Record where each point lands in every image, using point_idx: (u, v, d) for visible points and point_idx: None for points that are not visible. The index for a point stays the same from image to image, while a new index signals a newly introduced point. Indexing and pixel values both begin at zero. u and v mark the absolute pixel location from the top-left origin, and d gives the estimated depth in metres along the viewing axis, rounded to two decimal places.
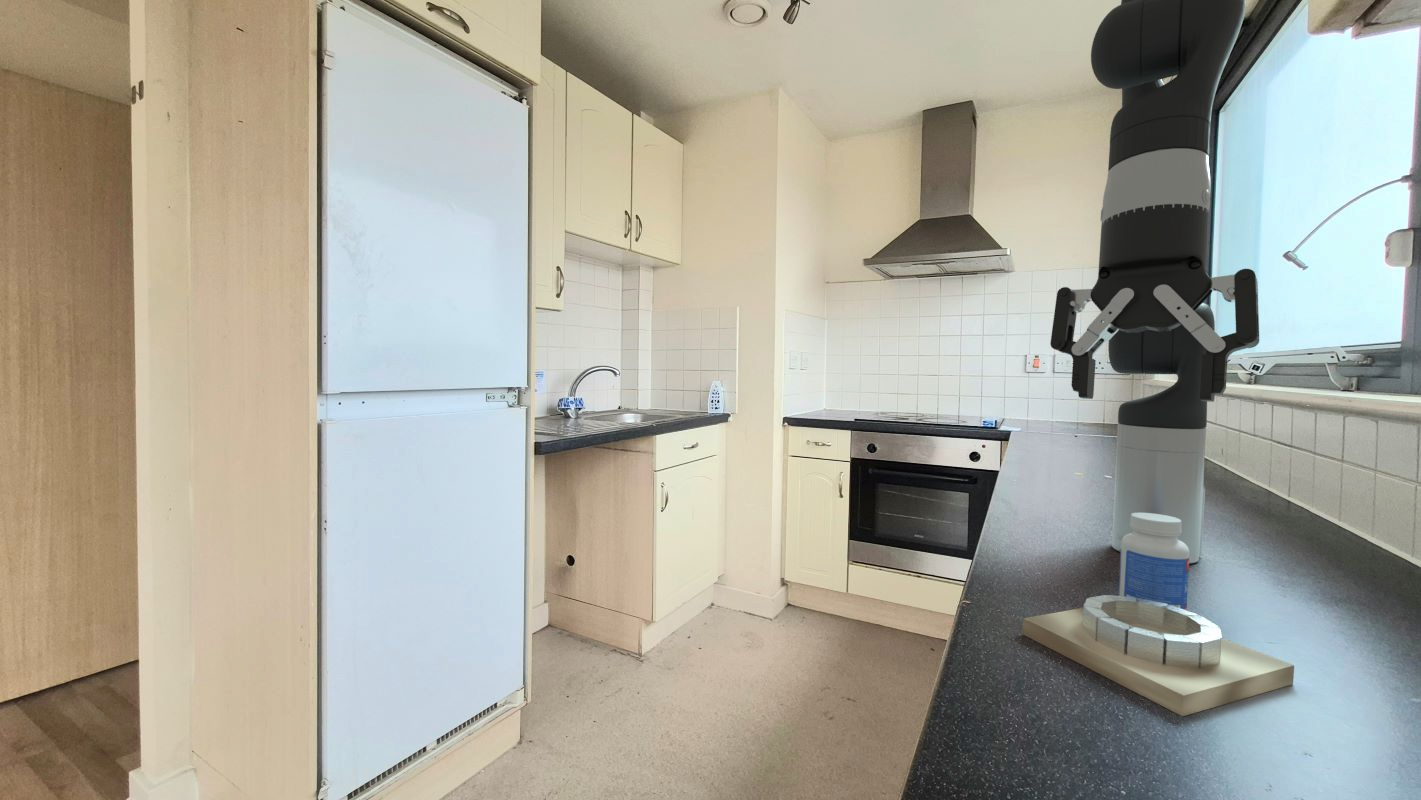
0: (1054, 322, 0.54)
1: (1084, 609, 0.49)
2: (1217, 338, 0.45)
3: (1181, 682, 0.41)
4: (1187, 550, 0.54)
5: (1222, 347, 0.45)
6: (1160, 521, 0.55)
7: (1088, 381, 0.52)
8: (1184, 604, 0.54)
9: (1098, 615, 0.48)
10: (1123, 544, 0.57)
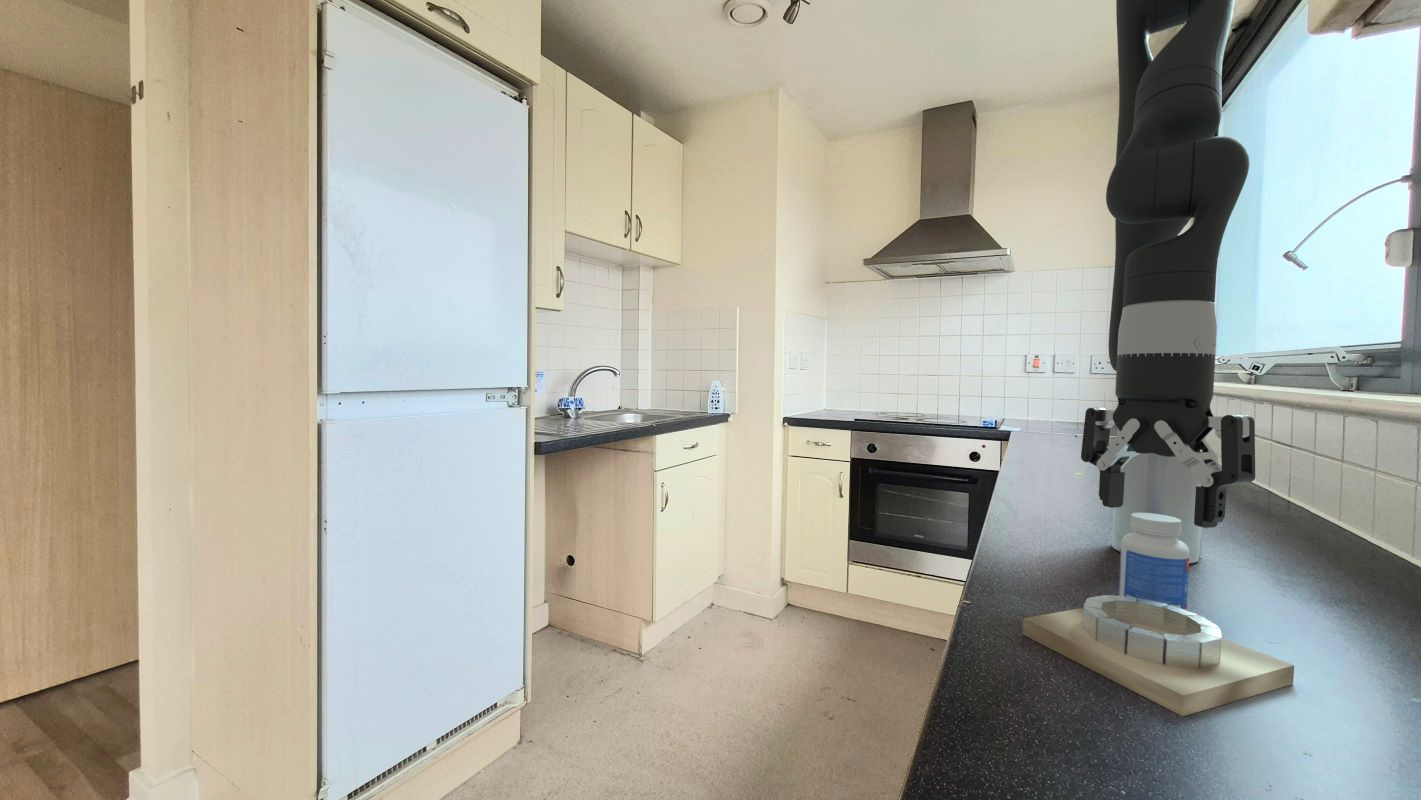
0: (1083, 437, 0.62)
1: (1084, 609, 0.49)
2: (1207, 474, 0.51)
3: (1181, 682, 0.41)
4: (1187, 550, 0.54)
5: (1211, 483, 0.51)
6: (1160, 521, 0.55)
7: (1110, 493, 0.59)
8: (1184, 604, 0.54)
9: (1098, 615, 0.48)
10: (1123, 544, 0.57)
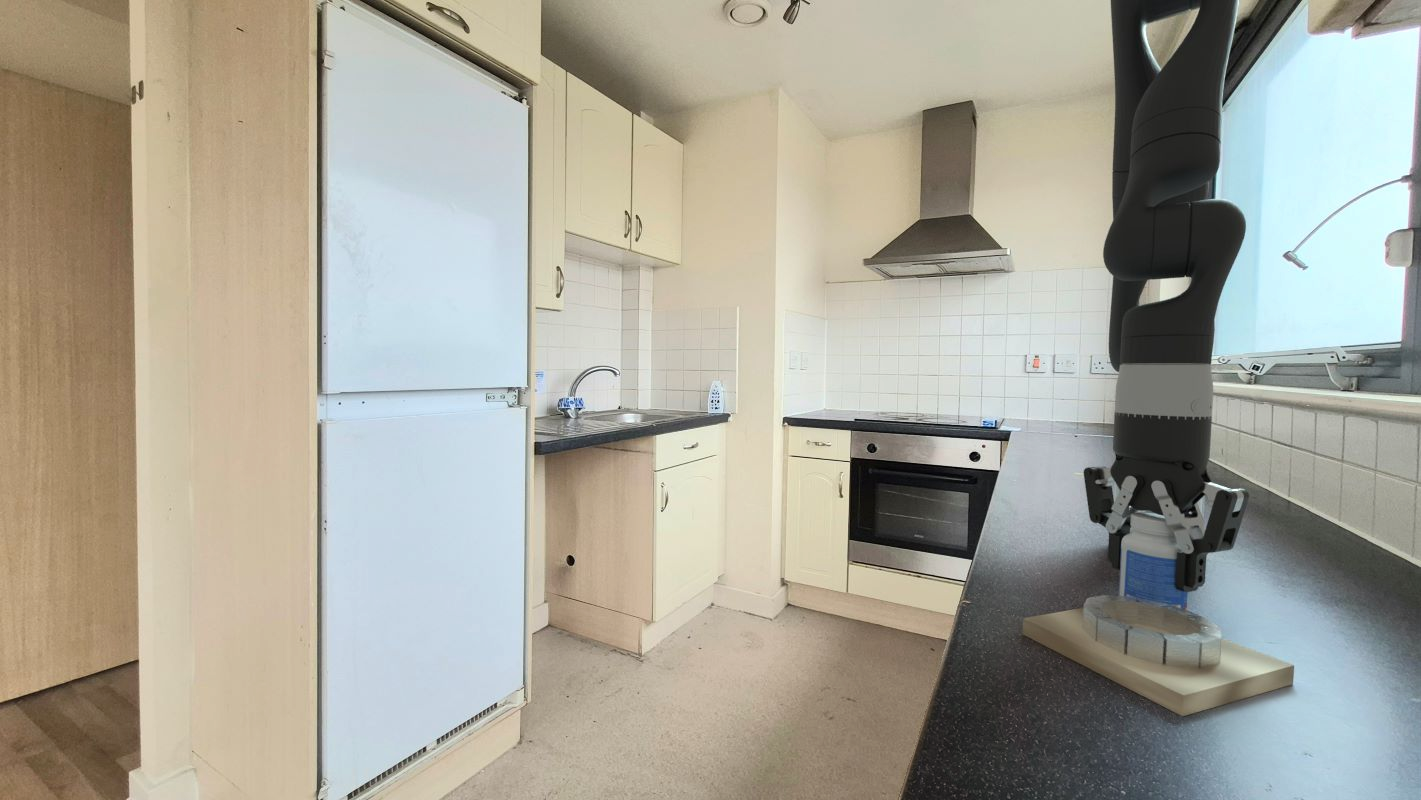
0: (1088, 498, 0.62)
1: (1084, 609, 0.49)
2: (1189, 542, 0.52)
3: (1181, 682, 0.41)
4: None
5: (1191, 550, 0.52)
6: (1160, 521, 0.55)
7: (1120, 557, 0.59)
8: (1184, 604, 0.54)
9: (1098, 615, 0.48)
10: (1123, 544, 0.57)
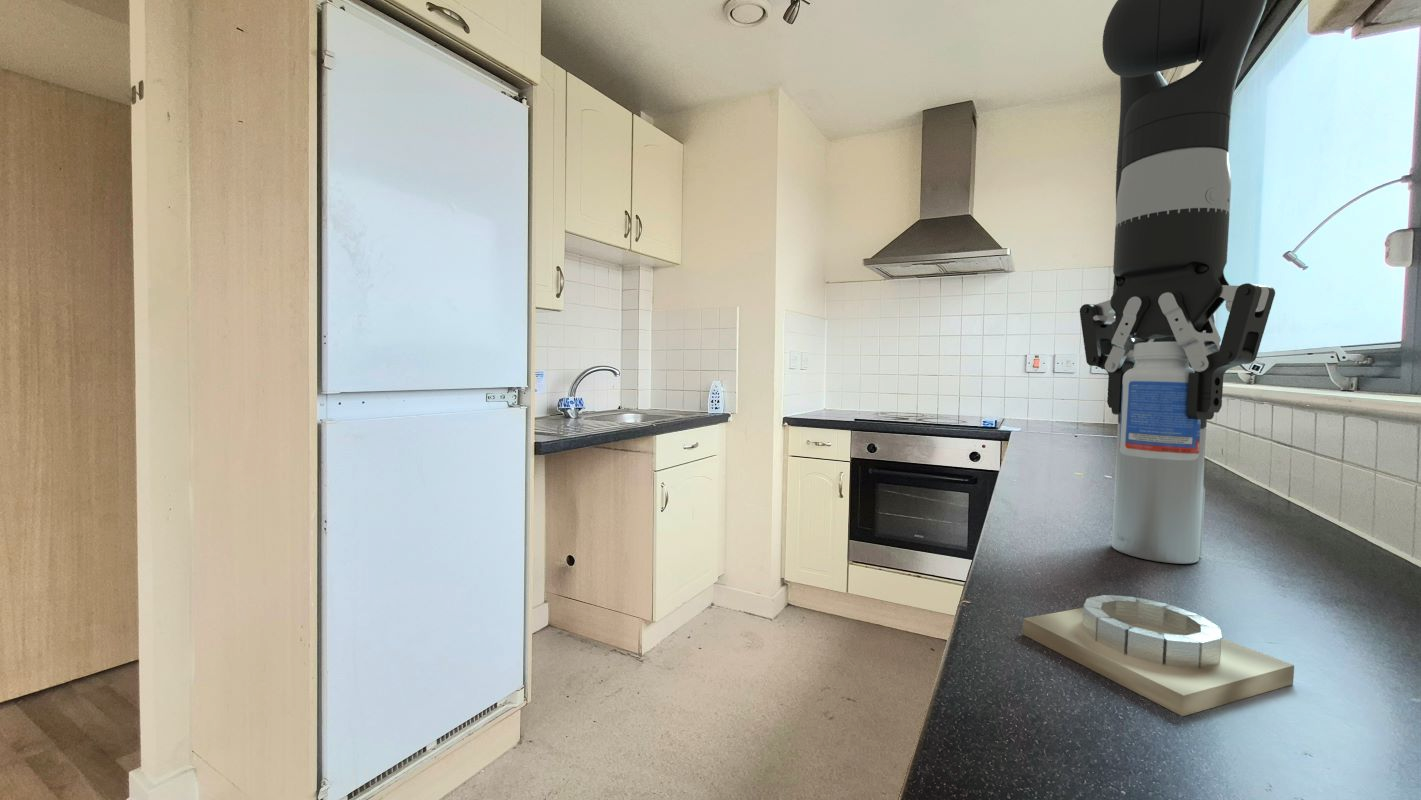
0: (1084, 340, 0.54)
1: (1084, 609, 0.49)
2: (1203, 357, 0.44)
3: (1181, 682, 0.41)
4: None
5: (1205, 366, 0.44)
6: (1169, 342, 0.47)
7: (1121, 398, 0.51)
8: (1197, 437, 0.46)
9: (1098, 615, 0.48)
10: (1125, 377, 0.49)
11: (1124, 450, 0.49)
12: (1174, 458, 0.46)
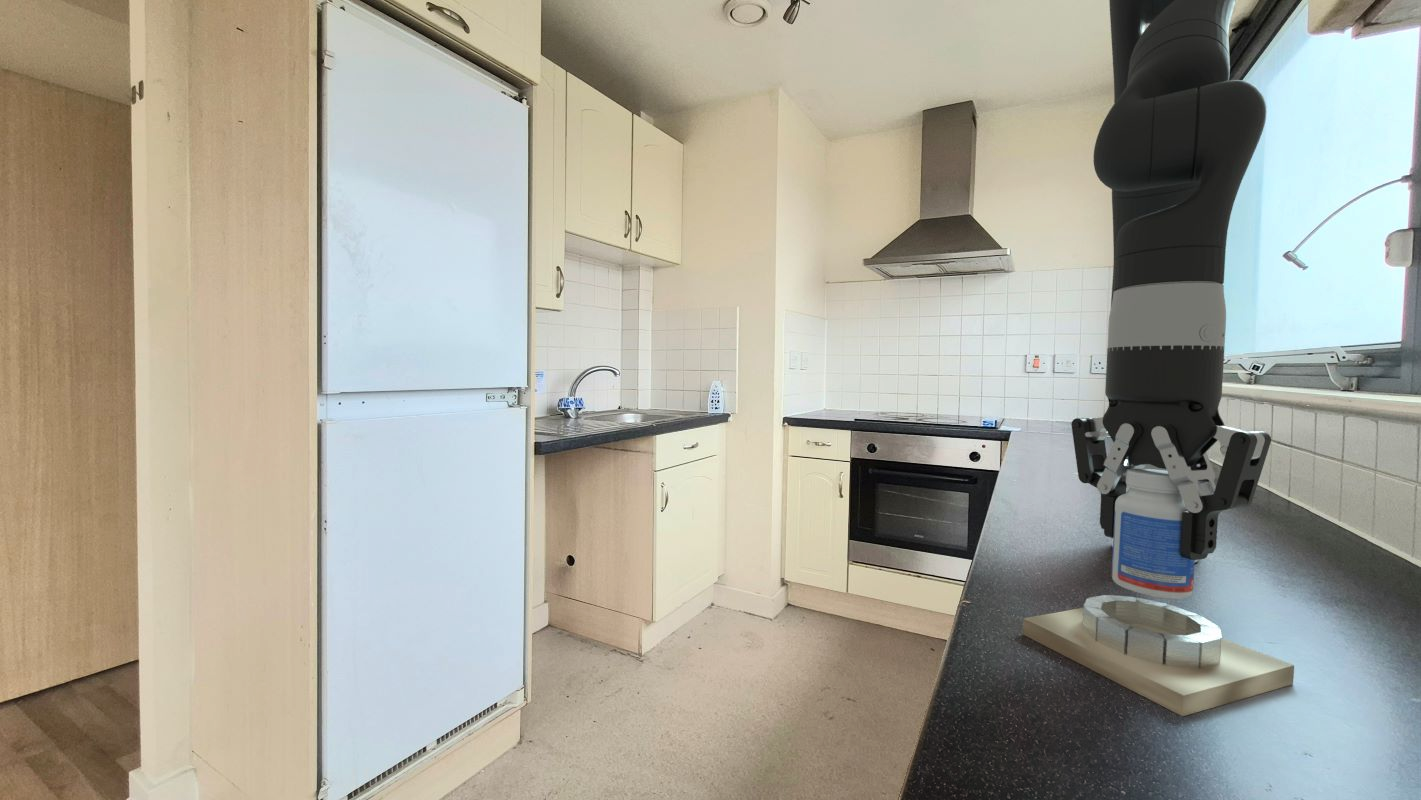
0: (1076, 455, 0.52)
1: (1084, 609, 0.49)
2: (1197, 499, 0.43)
3: (1181, 682, 0.41)
4: None
5: (1199, 508, 0.43)
6: (1162, 475, 0.45)
7: None
8: (1191, 575, 0.45)
9: (1098, 615, 0.48)
10: (1117, 505, 0.48)
11: (1116, 580, 0.48)
12: (1167, 597, 0.45)
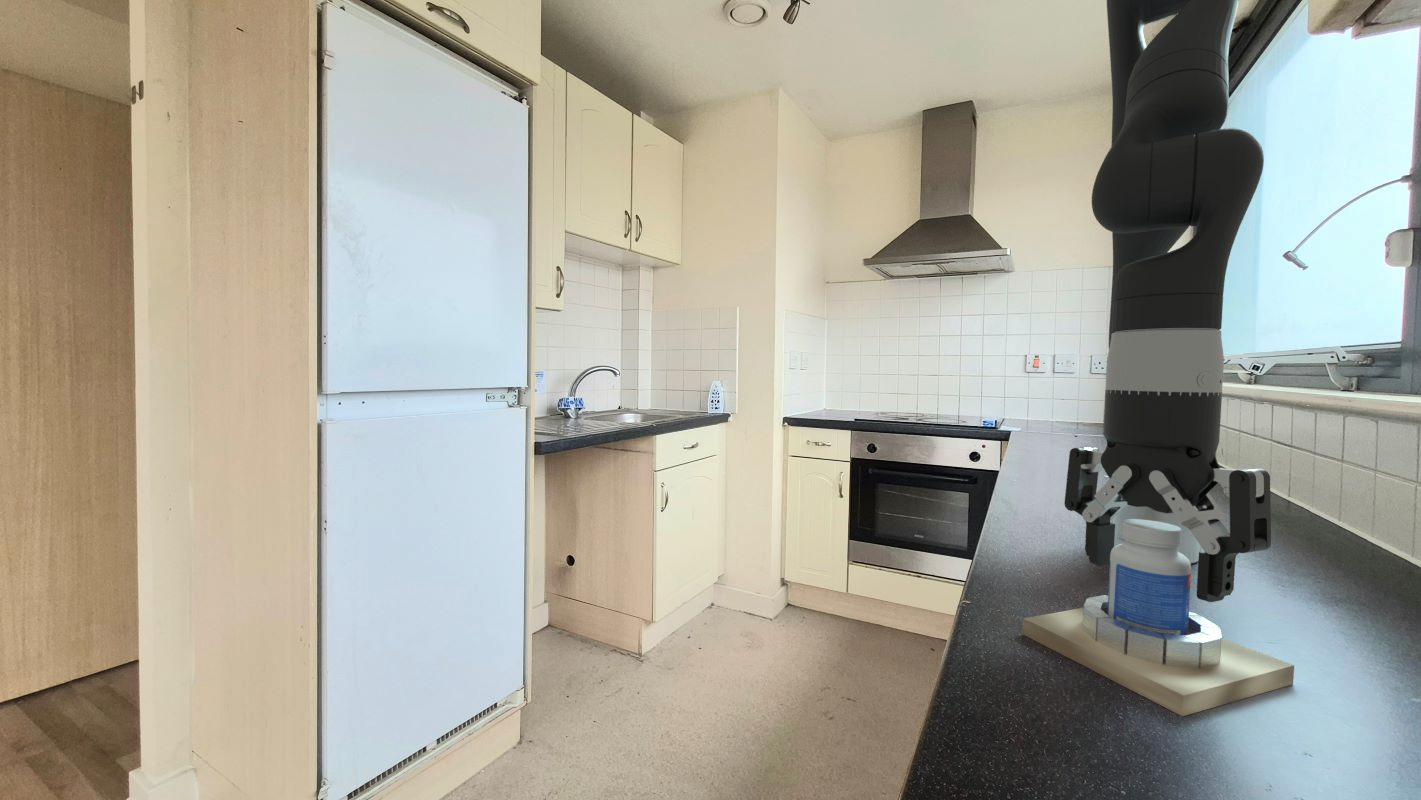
0: (1067, 482, 0.53)
1: (1084, 609, 0.49)
2: (1212, 539, 0.42)
3: (1181, 682, 0.41)
4: (1188, 564, 0.45)
5: (1217, 550, 0.42)
6: (1156, 530, 0.46)
7: (1098, 550, 0.51)
8: (1185, 629, 0.45)
9: (1098, 615, 0.48)
10: (1112, 557, 0.48)
11: None
12: None
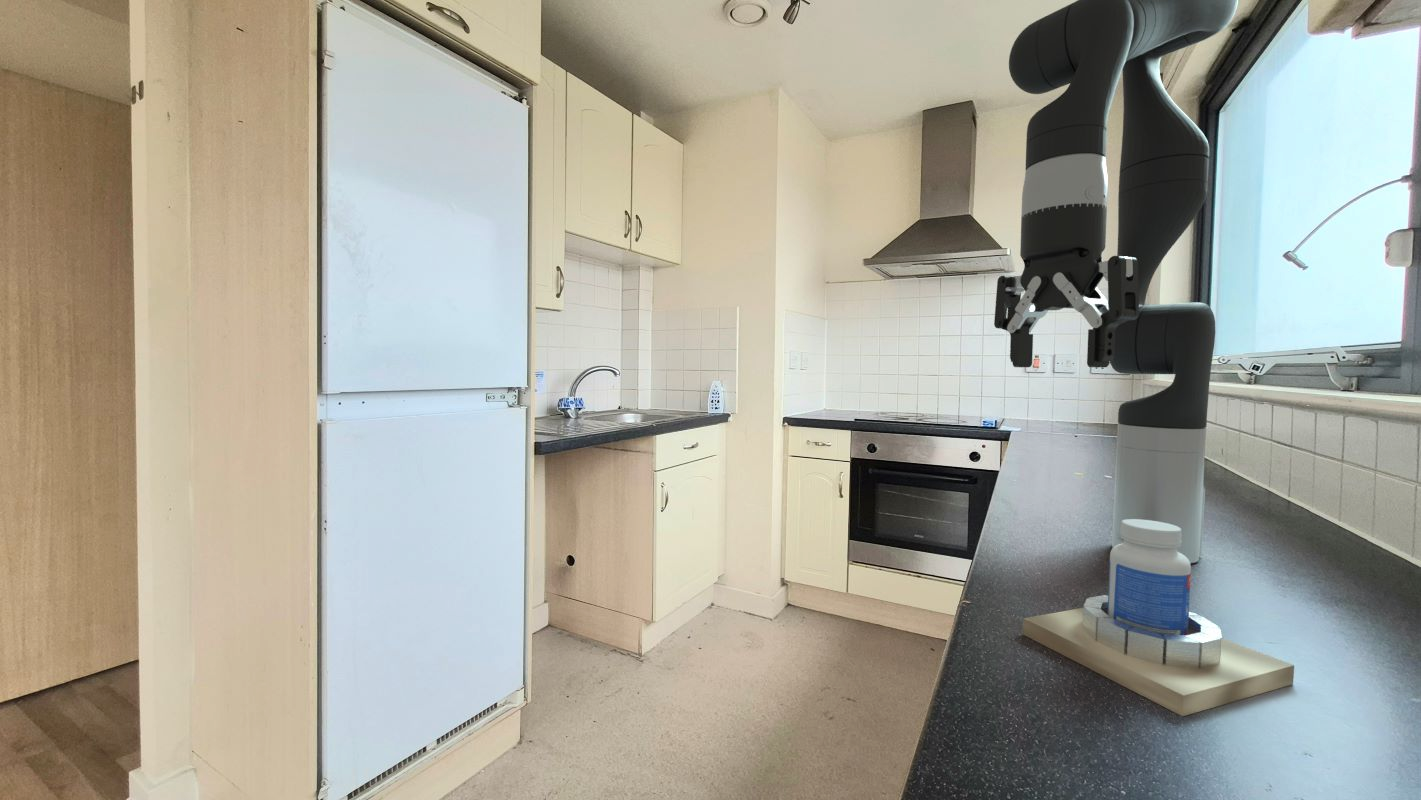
0: (996, 305, 0.65)
1: (1084, 609, 0.49)
2: (1097, 315, 0.54)
3: (1181, 682, 0.41)
4: (1188, 564, 0.45)
5: (1100, 323, 0.54)
6: (1156, 530, 0.46)
7: (1019, 354, 0.63)
8: (1185, 629, 0.45)
9: (1098, 615, 0.48)
10: (1112, 557, 0.48)
11: None
12: None
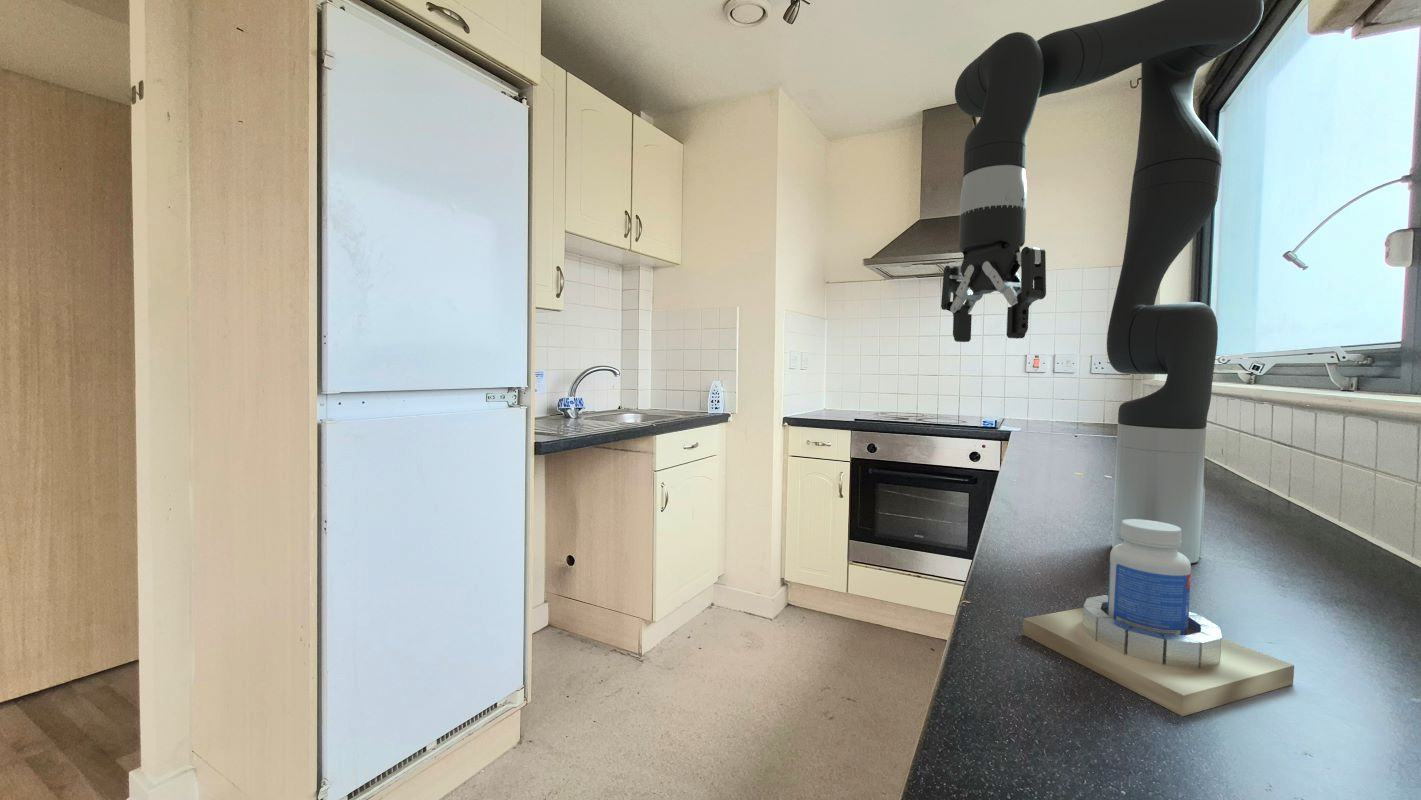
0: (942, 290, 0.78)
1: (1084, 609, 0.49)
2: (1013, 295, 0.67)
3: (1181, 682, 0.41)
4: (1188, 564, 0.45)
5: (1015, 301, 0.67)
6: (1156, 530, 0.46)
7: (959, 330, 0.76)
8: (1185, 629, 0.45)
9: (1098, 615, 0.48)
10: (1112, 557, 0.48)
11: None
12: None
